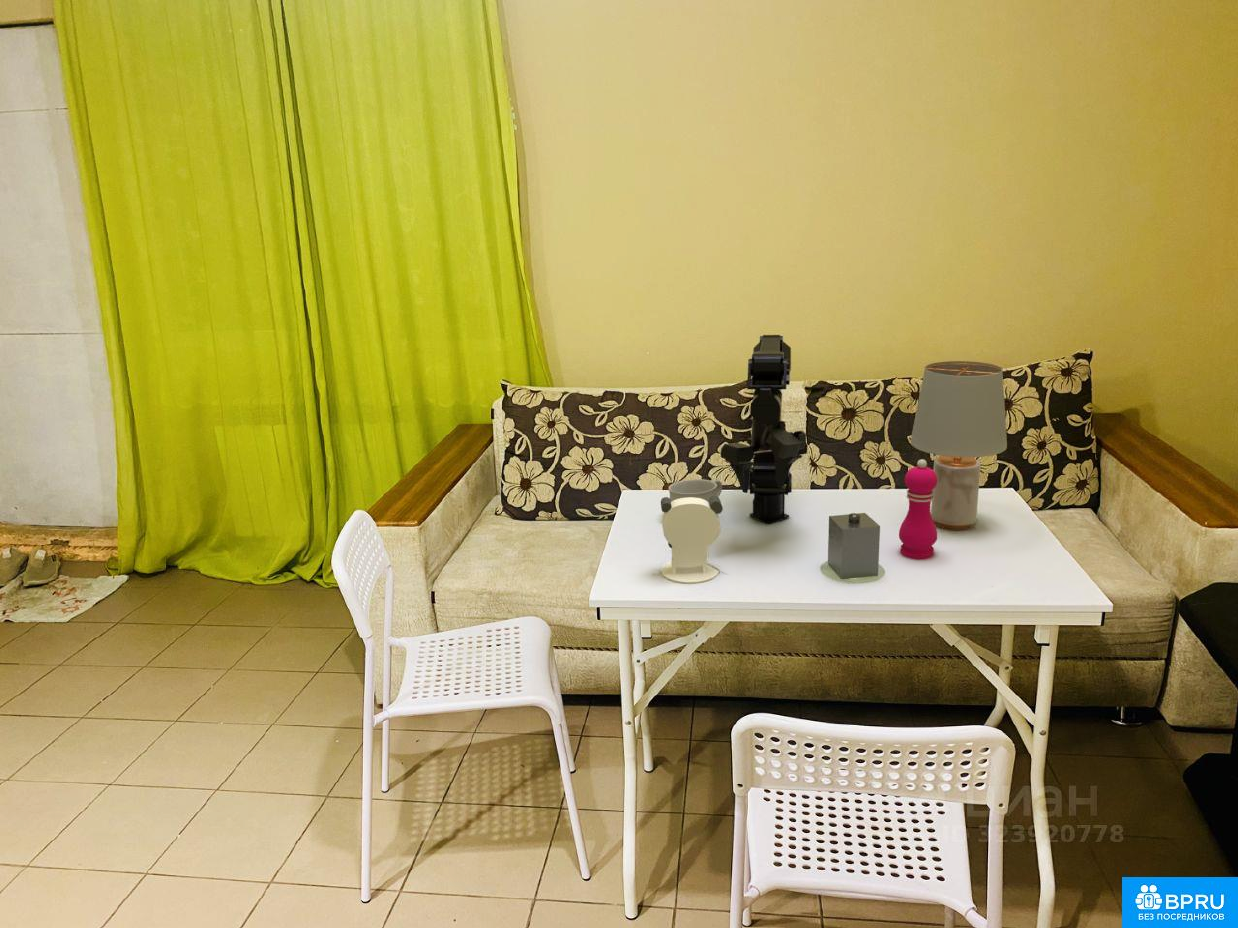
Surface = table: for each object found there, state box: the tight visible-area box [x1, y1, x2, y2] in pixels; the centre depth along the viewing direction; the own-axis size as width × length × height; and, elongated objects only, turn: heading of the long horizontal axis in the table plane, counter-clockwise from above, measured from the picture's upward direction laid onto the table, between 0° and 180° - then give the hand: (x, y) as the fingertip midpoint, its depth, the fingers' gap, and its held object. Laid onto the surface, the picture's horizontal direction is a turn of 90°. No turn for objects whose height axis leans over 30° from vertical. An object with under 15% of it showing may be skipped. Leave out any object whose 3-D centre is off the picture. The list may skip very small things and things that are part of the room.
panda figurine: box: [660, 495, 723, 585], centre depth 179 cm, size 12×11×15 cm
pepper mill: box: [898, 459, 938, 560], centre depth 181 cm, size 7×7×20 cm
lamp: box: [910, 360, 1008, 531], centre depth 194 cm, size 19×19×34 cm
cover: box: [827, 512, 881, 579], centre depth 176 cm, size 7×7×11 cm
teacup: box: [668, 478, 723, 502], centre depth 209 cm, size 14×11×8 cm
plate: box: [819, 560, 886, 585], centre depth 178 cm, size 12×12×1 cm
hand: (762, 489), depth 191 cm, fingers open, 9 cm apart
